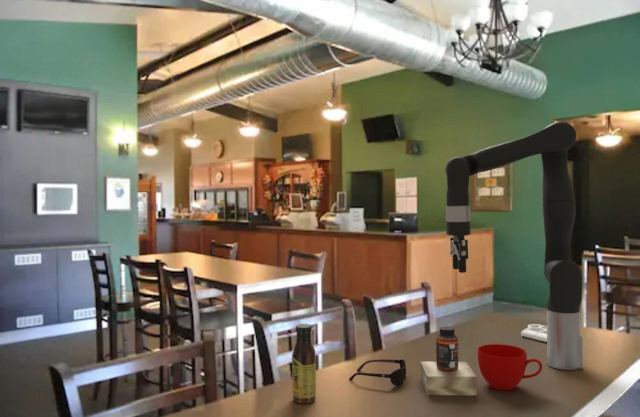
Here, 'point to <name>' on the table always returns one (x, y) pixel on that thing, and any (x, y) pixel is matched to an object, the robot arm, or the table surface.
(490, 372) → the ceramic cup
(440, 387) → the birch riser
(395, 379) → the sunglasses
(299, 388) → the sauce bottle
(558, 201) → the robot arm
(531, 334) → the white brass knuckles
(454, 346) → the supplement bottle
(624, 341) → the table surface
